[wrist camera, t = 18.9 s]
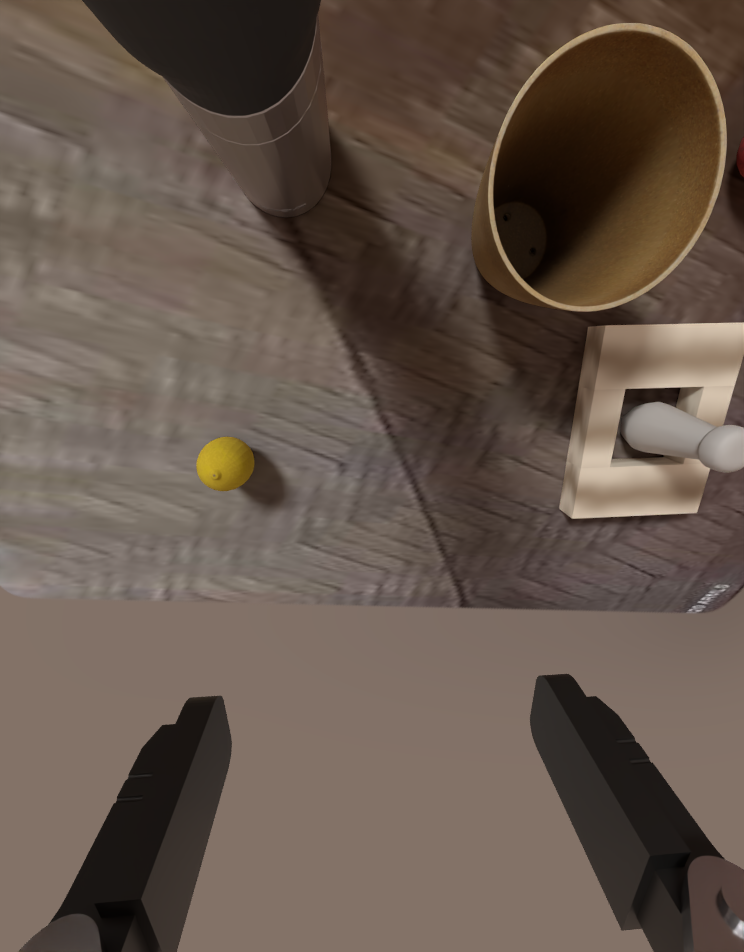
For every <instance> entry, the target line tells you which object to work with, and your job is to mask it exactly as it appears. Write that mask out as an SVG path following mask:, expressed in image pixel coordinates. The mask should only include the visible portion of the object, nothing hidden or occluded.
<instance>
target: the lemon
mask: <svg viewBox="0 0 744 952" xmlns="http://www.w3.org/2000/svg"><path fill="white" fill-rule="evenodd" d="M253 469H254V456H253V453H252V451H251V449H250V447H249V446H248V445H247V444H246V443H244V442H243V441H241V440H240V439H237V438H234V437H221V438H217V439H215V440H213V441H211V442H209V443H208V444H207V445H206V446H205V447H204V448H203V449H202V451H201V452H200V454H199V457H198V459H197V473H198V475H199V477H200V479H201V481H202V482H203V483H204V484H205V485H207V486H208V487H209V488H212V489H214V490H218V491H229V490H233V489H236V488H238V487H239V486H241V485H243V484H244V483H245V482H246V481H247V480H248V479H249V478H250V476H251V474H252V472H253Z"/></svg>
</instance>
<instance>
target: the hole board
mask: <svg viewBox="0 0 744 952" xmlns="http://www.w3.org/2000/svg"><path fill="white" fill-rule="evenodd" d="M743 355H744V323H703V324H655V325H606V326H591V327H588V331H587V337H586V343H585V350H584V356H583V362H582V368H581V375H580V381H579V387H578V394H577V400H576V406H575V412H574V419H573V425H572V431H571V437H570V444H569V450H568V456H567V463H566V469H565V475H564V481H563V488H562V494H561V500H560V506H559V509H560V510H562V511H563V512H564V513H565V514H567V515H568V516H569V517H571V518H572V519H577V518H599V517H621V516H642V515H664V514H686V513H697V511H698V508H699V504H700V501H701V498H702V494H703V491H704V487H705V484H706V481H707V477H708V474H709V470H710V468H708V467H705V466H704V465H703V464H702V463H701V462H700V460H697V459H690V458H683V457H676V456H669V455H664V457H653V458H627V459H612V454H613V449H614V444H615V439H616V434H617V429H618V424H619V419H620V414H621V409H622V404H623V399H624V394H625V389H640V388H675V387H681V388H680V392H679V396H678V400H677V404H676V408H677V409H679V410H682V411H684V412H686V413H688V414H690V415H692V416H695V417H697V418H699V419H701V420H703V421H705V422H708V423H710V424H712V425H714V426H716V427H719V426H723V423H724V420H725V416H726V413H727V409H728V406H729V403H730V399H731V396H732V392H733V389H734V386H735V382H736V379H737V375H738V372H739V369H740V365H741V362H742V359H743Z"/></svg>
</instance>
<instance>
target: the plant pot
mask: <svg viewBox="0 0 744 952" xmlns="http://www.w3.org/2000/svg"><path fill="white" fill-rule="evenodd" d="M726 148H727V134H726V119H725V114H724V108H723V104H722V100H721V97H720V93H719V90H718V88H717V85H716V83H715V80H714V78H713V76H712V74H711V73H710V71H709V69H708V67H707V66H706V64H705V63H704V61H703V60H702V59H701V57H700V56H699V55H698V54H697V52H696V51H695V50H694V49H693V48H692V47H691V46H690V45H689V44H687V43H686V42H685V41H683V40H682V39H680V38H679V37H677V36H676V35H674V34H672V33H671V32H669V31H666V30H663V29H661V28H658V27H654V26H650V25H646V24H642V23H622V24H613V25H608V26H604V27H600V28H597V29H594V30H592V31H589V32H587V33H585V34H583V35H580V36H578V37H577V38H575V39H573V40H572V41H570V42H568V43H567V44H565V45H564V46H563V47H561V48H560V49H558V50H557V51H556V52H555V53H553V54H552V55H551V56H550V57H549V58H547V59H546V60H545V61H544V62H543V63H542V64H541V65H540V66H539V67H538V68H537V69H536V71H535V72H534V73H533V74H532V75H531V77H530V78H529V79H528V80H527V82H526V83H525V84H524V86H523V87H522V89H521V90H520V92H519V93H518V95H517V96H516V98H515V100H514V102H513V104H512V106H511V107H510V109H509V111H508V113H507V115H506V117H505V120H504V122H503V124H502V127H501V129H500V131H499V134H498V136H497V139H496V141H495V144H494V146H493V149H492V151H491V154H490V157H489V160H488V162H487V165H486V168H485V171H484V174H483V177H482V180H481V183H480V187H479V190H478V194H477V198H476V203H475V208H474V213H473V221H472V237H471V240H472V251H473V256H474V260H475V263H476V266H477V268H478V270H479V272H480V273H481V275H482V276H483V277H484V278H485V280H486V281H487V282H488V283H489V284H490V285H492V286H493V287H494V288H495V289H497V290H498V291H500V292H501V293H503V294H505V295H507V296H509V297H511V298H514V299H516V300H519V301H522V302H525V303H528V304H532V305H536V306H541V307H546V308H552V309H559V310H567V311H577V312H590V311H599V310H605V309H609V308H613V307H616V306H619V305H622V304H624V303H627V302H629V301H631V300H633V299H635V298H637V297H639V296H640V295H642V294H644V293H645V292H647V291H649V290H650V289H651V288H653V287H654V286H656V285H657V284H658V283H659V282H661V281H662V280H663V279H664V278H665V277H666V276H668V275H669V274H670V273H671V272H672V271H673V270H674V269H675V268H676V267H677V266H678V264H679V263H680V262H681V261H682V260H683V259H684V257H685V256H686V255H687V254H688V252H689V251H690V250H691V248H692V247H693V245H694V244H695V243H696V241H697V239H698V238H699V236H700V234H701V233H702V231H703V229H704V227H705V225H706V223H707V221H708V219H709V217H710V215H711V212H712V210H713V207H714V204H715V202H716V199H717V196H718V193H719V190H720V186H721V182H722V177H723V172H724V167H725V159H726ZM504 215H506V217H507V218H506V220H504ZM531 249H534V250H535V252H531Z"/></svg>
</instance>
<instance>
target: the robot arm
mask: <svg viewBox="0 0 744 952" xmlns="http://www.w3.org/2000/svg"><path fill="white" fill-rule="evenodd" d="M82 1H83V2H84V3H85V4H86V5H87V7H88V8H89V9H90V10H91V11H92V12H93V14H94V15H95V16H96V17H97V18H98V20H99V21H100V22H101V23H102V24H103V25H104V27H105V28H106V29H107V30H108V31H109V32H110V33H111V35H112V36H113V37H114V38H115V39H116V40H117V41H118V42H119V43H120V44H121V45H122V46H123V47H124V48H125V49H126V50H127V51H128V52H129V53H130V54H131V55H132V56H133V57H135V58H136V59H137V60H138V61H140V62H141V63H142V64H144V65H145V66H146V67H148V68H150V69H151V70H153V71H154V72H156V73H158V74H159V75H161V76H163V78H164V79H165V81H166V82H167V84H168V85H169V86H170V88H171V89H172V91H173V92H174V94H175V95H176V96H177V98H178V99H179V101H180V102H181V104H182V105H183V106H184V108H185V109H186V110H187V112H188V113H189V115H190V116H191V118H192V119H193V120H194V122H195V123H196V125H197V126H198V128H199V129H200V131H201V132H202V133H203V135H204V136H205V138H206V139H207V141H208V142H209V143H210V145H211V146H212V148H213V149H214V151H215V152H216V154H217V155H218V156H219V158H220V159H221V161H222V162H223V164H224V165H225V166H226V168H227V169H228V171H229V172H230V174H231V175H232V177H233V178H234V180H235V181H236V182H237V184H238V185H239V187H240V188H241V189H242V191H243V192H244V193H245V195H246V196H247V198H248V199H249V200H250V201H251V202H252V203H253V204H254V205H255V206H257V207H258V208H260V209H261V210H263V211H264V212H266V213H268V214H271V215H274V216H278V217H286V218H287V217H294V216H298V215H301V214H303V213H306V212H307V211H309V210H310V209H311V208H313V207H314V206H315V205H316V204H317V203H318V201H319V200H320V199H321V198H322V196H323V194H324V192H325V190H326V189H327V185H328V182H329V179H330V174H331V165H332V164H331V149H330V136H329V125H328V114H327V103H326V92H325V81H324V70H323V59H322V49H321V41H320V30H319V19H318V11H319V7H320V2H321V0H82ZM530 725H531V731H532V736H533V739H534V742H535V744H536V747H537V749H538V751H539V754H540V756H541V758H542V760H543V762H544V764H545V766H546V769H547V771H548V773H549V775H550V777H551V779H552V781H553V784H554V786H555V788H556V790H557V792H558V794H559V797H560V799H561V801H562V803H563V805H564V807H565V809H566V811H567V814H568V816H569V818H570V820H571V822H572V825H573V827H574V829H575V831H576V833H577V835H578V837H579V840H580V842H581V844H582V846H583V848H584V850H585V852H586V855H587V857H588V859H589V861H590V863H591V865H592V868H593V870H594V872H595V874H596V876H597V878H598V880H599V882H600V885H601V887H602V889H603V891H604V893H605V895H606V898H607V900H608V902H609V904H610V906H611V908H612V910H613V913H614V915H615V917H616V919H617V921H618V923H619V925H620V927H621V930H632V929H643V931H644V933H645V935H646V937H647V939H648V941H649V943H650V945H651V947H652V949H653V951H652V952H744V870H743V869H742V868H740V867H738V866H737V865H735V864H733V863H731V862H729V861H727V860H725V859H724V858H723V857H722V856H721V854H720V853H719V852H718V851H717V850H716V849H715V847H714V846H713V845H712V844H711V842H710V841H709V840H708V838H707V837H706V836H705V834H704V833H703V831H702V830H701V829H700V827H699V826H698V824H697V823H696V822H695V820H694V819H693V818H692V816H691V815H690V813H689V812H688V811H687V809H686V808H685V807H684V805H683V804H682V802H681V801H680V800H679V798H678V797H677V796H676V794H675V793H674V791H673V790H672V789H671V787H670V786H669V785H668V783H667V782H666V780H665V779H664V778H663V776H662V775H661V773H660V772H659V771H658V769H657V768H656V767H655V765H654V764H653V763H651V762H650V760H649V757H648V756H647V754H646V753H645V751H644V750H643V749H642V747H641V746H640V744H639V743H636V741H635V738H634V736H633V735H632V733H631V732H630V731H629V730H628V728H627V727H626V725H625V724H624V722H623V721H622V720H621V718H620V717H619V716H618V715H617V714H616V713H615V712H614V711H613V710H612V709H610V708H609V707H608V706H607V705H606V704H605V703H603V702H602V701H601V700H600V699H599V698H597V697H596V696H593V697H586V695H585V694H584V692H583V691H582V689H581V688H580V686H579V685H578V683H577V682H576V681H575V679H574V678H573V677H572V676H571V675H569V674H558V675H543V676H538V677H537V680H536V685H535V691H534V697H533V703H532V709H531V715H530ZM231 747H232V741H231V734H230V729H229V724H228V720H227V714H226V710H225V705H224V700H223V698H222V696H211V697H210V696H208V697H193V698H189V699H188V700H187V701H186V703H185V704H184V706H183V708H182V711H181V713H180V715H179V717H178V720H177V722H176V724H171V725H162V726H161V727H160V728H159V730H158V731H157V732H156V733H155V734H154V735H153V736H152V737H151V739H150V740H149V741H148V742H147V743H146V744H145V745H144V746H143V748H142V749H141V751H140V753H139V755H138V757H137V759H136V761H135V763H134V765H133V767H132V769H131V771H130V773H129V777H128V779H127V780H126V781H125V783H124V784H123V786H122V788H121V791H120V792H119V794H118V796H117V801H116V803H114V804H113V806H112V808H111V810H110V812H109V814H108V816H107V818H106V820H105V822H104V824H103V826H102V828H101V830H100V832H99V834H98V836H97V837H96V839H95V841H94V843H93V845H92V847H91V849H90V851H89V853H88V855H87V857H86V859H85V861H84V863H83V865H82V867H81V869H80V871H79V873H78V875H77V877H76V879H75V881H74V883H73V884H72V887H71V888H70V890H69V892H68V894H67V896H66V898H65V900H64V902H63V904H62V905H61V907H60V909H59V910H58V912H57V913H56V915H55V916H54V918H53V919H52V920H51V922H50V923H49V924H48V925H47V926H46V927H44V928H43V929H42V930H40V931H39V932H38V933H37V934H35V935H34V936H33V937H32V938H31V939H30V940H29V941H28V942H27V943H26V944H25V945H24V946H23V947H22V948H21V949H20V950H19V952H177V948H178V945H179V942H180V938H181V934H182V931H183V927H184V924H185V920H186V917H187V913H188V909H189V906H190V902H191V899H192V895H193V892H194V888H195V885H196V881H197V877H198V874H199V871H200V867H201V863H202V860H203V857H204V852H205V849H206V846H207V842H208V839H209V835H210V831H211V828H212V825H213V821H214V818H215V814H216V810H217V807H218V803H219V800H220V796H221V793H222V789H223V786H224V782H225V779H226V775H227V771H228V768H229V763H230V757H231Z"/></svg>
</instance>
